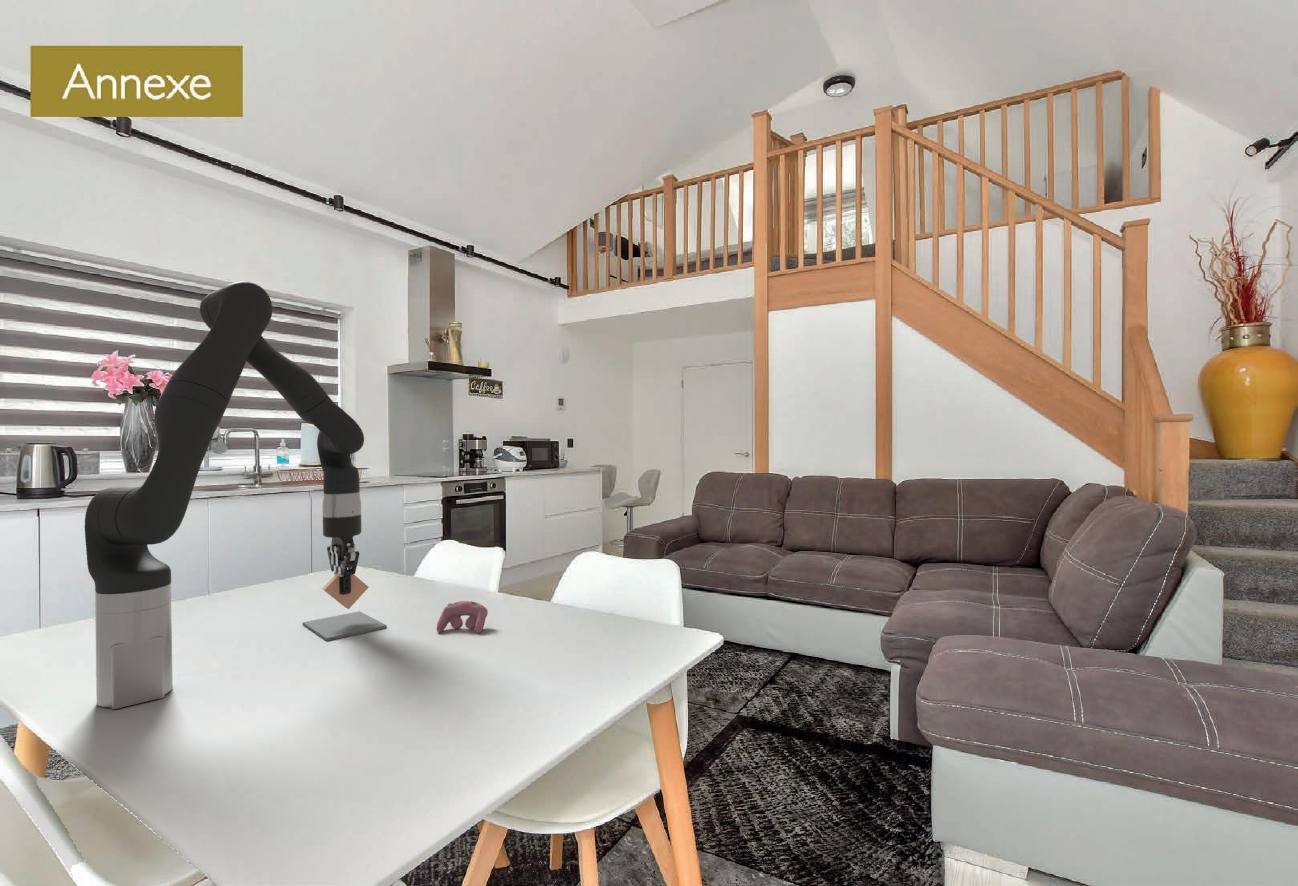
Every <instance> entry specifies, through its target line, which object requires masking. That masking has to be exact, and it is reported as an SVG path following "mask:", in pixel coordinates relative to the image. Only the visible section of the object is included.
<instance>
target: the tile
mask: <svg viewBox="0 0 1298 886" xmlns="http://www.w3.org/2000/svg"><path fill="white" fill-rule="evenodd" d="M347 570H348V568H347ZM369 588H370V586H369V585H367V584H366V583H365V582H363V580H361V579H360V578H359V577H358V576H357V575H355V574H352V576H351V593H349V594H345V595H341V594H340V591H339V572H338V573H337V574H336V575H334V576H333V577H332V578H331V579H330V580H329V581H327V583H326V584H325V585H324V586H323V587H322V588H321V589H322V591H324V593H326V594H327V595H329V596H330V597H331V598H332V599H334V600H335V601H336V602H337V603H339V604H340V605H341V606H343V607H344V608H346V609H347V610H350V609H351V608H352V607H353V605H354V604H355V603H356V602H357V601H358V600H359V599H360V598H361V597H362V595H363V594H364V593H365V592H366V591H368V589H369Z"/></svg>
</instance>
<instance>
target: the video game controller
mask: <svg viewBox="0 0 1298 886" xmlns="http://www.w3.org/2000/svg"><path fill="white" fill-rule="evenodd" d="M488 614H489V612H488V608H486V606H485V605H483V604H481V603H478V602H475V601H472V600H461V601H457V602H452V603H451V602H450V603H448V604H447V606H445V607H444V609H443V610H442V611H441V613H440V616H439V619H438V621H437V622H436V632H437V633H438V634H440V633H443V631H444V630H445V629H446V627H447V626H448V624H449V623H450V626H451V628H453V629H455V630H459V629H461V628H462V627H463V625H464V626H465V627H466V628H467V629H469V630H474V629H475V633H476V634H480V633H481V632H482V631H483V629H484V626H485V622H486V618H487V617H488ZM461 616H464V617H465V616H466V617H467V616H468V618H466V620H465V623H464V622H463V621H464V620H463V618H462V617H461Z"/></svg>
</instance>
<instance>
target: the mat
mask: <svg viewBox="0 0 1298 886" xmlns="http://www.w3.org/2000/svg"><path fill="white" fill-rule="evenodd" d="M302 626H303V627H305V628H306V629H308V630H309V631H311V632H312V633H313V634H315V635H316V636H318V637H320V638H321V639H322V640H324V641H325V642H328V641H332V640H338V639H341V638H348V637H352V636H356V635H361V634H364V633H369V632H374V631H378V630H379V631H380V630H384V629H387V624H385V623H383V622H381V621H379V620H377V619H376V618H373V617H372V616H369V614H365V613H363V612H362V611H354V612H348V613H344V614H338V615H334V616H329V617H323V618H319V619H318V618H317V619H313V620H308V621H302Z"/></svg>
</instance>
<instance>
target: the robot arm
mask: <svg viewBox="0 0 1298 886" xmlns="http://www.w3.org/2000/svg"><path fill="white" fill-rule="evenodd" d="M199 313H200V316H201V318H202V321H203V322H204V324H205V325H206V326H207V327H208V328H209V332H207V334H206V336H205V337H204V339H203V340H202V342H200V343H199V345H197V347H195V349H193V351H192V352H191V353H190V354H189V355H188V356H187V357H186V358H185V359H184V360H183V362H182V363H181V364H179V366H178V368H177V369H176V370H175V371H174V372H173V374H172V376H171V377H170V378H169V380H168V382H167V383H166V385H165V386H164V389H163V391H162V392H161V395H160V396H159V399H158V401H157V404H156V405H155V408H154V413H153V416H154V419H153V420H154V426H155V433H156V437H157V441H158V442H157V445H158V451H157V455H156V460H155V462H154V463H153V465H152V467H151V470H150V472H149V474H148V476H146V479H145V480H144V482H143V484H142V485H135V486H134V485H128V486H127V485H124V486H121V485H120V486H111V487H107V488H104V489H103V490H101V491H100V490H99V492H97V493H96V494H95V495H94V496H93V497H92V498H91V500H90V501H89V503H88V506H87V508H86V511H85V516H84V538H85V548H86V549H85V551H86V563H87V564H86V565H87V569H88V573H89V575H90V577H91V578H92V580H93V582H94V590H95V591H94V592H95V593H94V597H95V598H94V601H95V602H94V603H95V610H94V611H95V612H94V613H95V614H94V615H95V617H94V619H95V620H94V621H95V622H94V623H95V680H96V682H95V684H96V705H97V706H98V707H102V708H111V710H116V709H121V708H126V707H129V706H133V705H137V704H142V703H145V702H149V701H150V702H151V701H154V700H159V699H162V698H164V697H165V695H166V694H168V693H169V692H170V691H172V690H173V640H172V639H173V636H172V635H173V634H172V633H173V632H172V630H173V628H172V627H173V626H172V625H173V624H172V621H173V620H172V570H171V568H170V566H169V565H168V564H166V563H165V562H163V561H161V560H159V559H157V558H156V557H155V556H154V555H153V554H152V553H151V551H150V550H149V548H148V547H149V546H148V545H152V546H153V545H159V544H161V543H164V542H166V541H168V540H169V539H170V538H171V537H173V536H174V535H175V533H177V531H178V529H179V528H180V526H181V525H182V522H183V521H184V518H185V516H186V513H187V509H188V507H189V503H190V501H191V497H192V493H193V490H194V487H195V483H196V480H197V477H198V474H199V471H200V469H201V466H202V463H203V461H204V459H205V456H206V454H207V451H208V449H209V446H210V444H211V442H212V439H213V437H214V435H215V433H216V431H217V428H218V427H219V426H220V423H221V421H222V418H223V416H224V415H225V412H226V410H227V408H228V406H229V403H230V401H231V398H232V396H233V393H234V391H235V388H236V386H237V384H238V382H239V380H240V378H241V376H242V373H243V371H244V368H245V366H246V363H248V364H249V365H250V366H251V367H252V368H253V369H255V370H256V371H257V372H258V373H259V374H260V375H261V376H262V377H264V379H266V380H267V381H268V382H269V384H270V385H272V387H273V388H274V389H276V391H277V392H278V393H279V394H280V395H281V396H282V398H283V399H284V400H285V401H286V403H287V404H289V406H290V407H291V408H292V409H293V411H294V412H295V413H296V414H297V415H298V416H299V418H301V419H302V421H304V422H305V423H307V424H310V425H313V426H315V427H316V429H317V430H319V432H318V435H317V440H316V446H317V447H316V448H317V454H318V457H319V461H320V462H319V463H320V466H321V469H322V474H323V482H322V483H323V484H322V485H323V499H322V536H324V538H330V539H331V542H330V543H331V544H330V545H329V546H327V547H326V551H327V556H328V561H329V565H330V570H331V572H333V575H334V576H335V575H336V574H337V573H338V572H339V591H340V594H341V595H345V594H349V593H351V576H352V574H354V575H355V574H356V570H357V567H358V562H359V559H360V551H359V550H356V544H355V543H354V542H355V541H354V537H355V536H359V535H360V534H361V533H362V501H361V495H360V491H361V490H360V472H359V469H358V468H357V467H356V466H354V464H353V463H352V462H353V461H352V457H351V456H352V455H353V454H355V453H357V452H359V451H361V449H362V448H363V446H364V443H365V434H364V432H363V430H362V428H361V426H360V425H359V423H358V422H357V421H356V420H355V419H354V418H352V416H351V415H350V414H348V413H347V411H345V410H344V409H342V408H341V407H340V406H339V405H337V404H336V403H335V402H334V401H333V399H332V398H331V397H330V395H328V393H327V392H326V390H324V388H323V387H322V386H321V384H320V383H319V382H318V381H317V380H316V379H315V377H314V376H313V375H311V373H309V371H307V369H305V368H303V367H301V366H300V365H299V364H297V363H296V362H294V361H293V360H292V359H290V358H288V357H286V356H285V355H284V354H282V353H281V352H279V351H278V350H277V349H275V347H273V346H272V345H271V344H270V343H269V342H268V341H267V340H266V339H265V337H263V333H264V331H265V330H266V329H267V327H268V325H270V322H271V319H272V316H273V302H272V300H271V296H269V294H268V292H267V291H266V290H265V289H264V288H263V287H262V286H261V285H258V284H257V283H254V282H252V281H251V282H250V281H236V282H231V283H228V284H226V285H224V286H222V287H221V288H218V289H216V290H214V291H212V292H210V293H208V294H207V295H205V296H204V297H203V298H202V300H201V301H200V305H199ZM347 569H348V570H347Z"/></svg>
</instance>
